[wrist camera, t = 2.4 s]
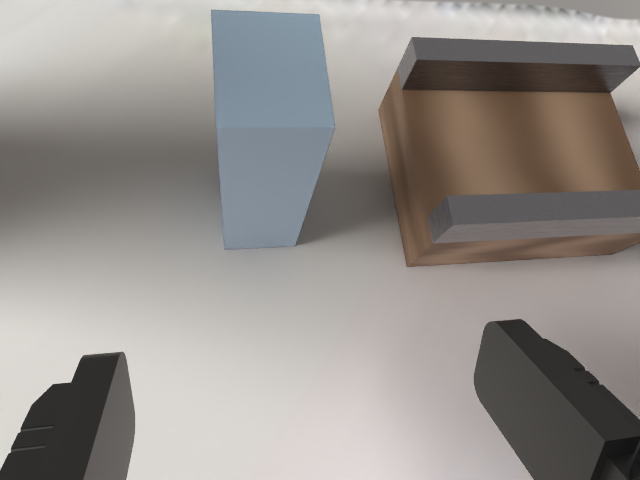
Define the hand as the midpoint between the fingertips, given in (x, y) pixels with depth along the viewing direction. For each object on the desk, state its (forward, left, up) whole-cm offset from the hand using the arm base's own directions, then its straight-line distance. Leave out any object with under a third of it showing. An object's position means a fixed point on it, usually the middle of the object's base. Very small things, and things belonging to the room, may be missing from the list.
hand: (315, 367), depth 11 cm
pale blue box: (-7, +8, -15) cm, 18 cm away
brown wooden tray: (+4, +19, -15) cm, 25 cm away
